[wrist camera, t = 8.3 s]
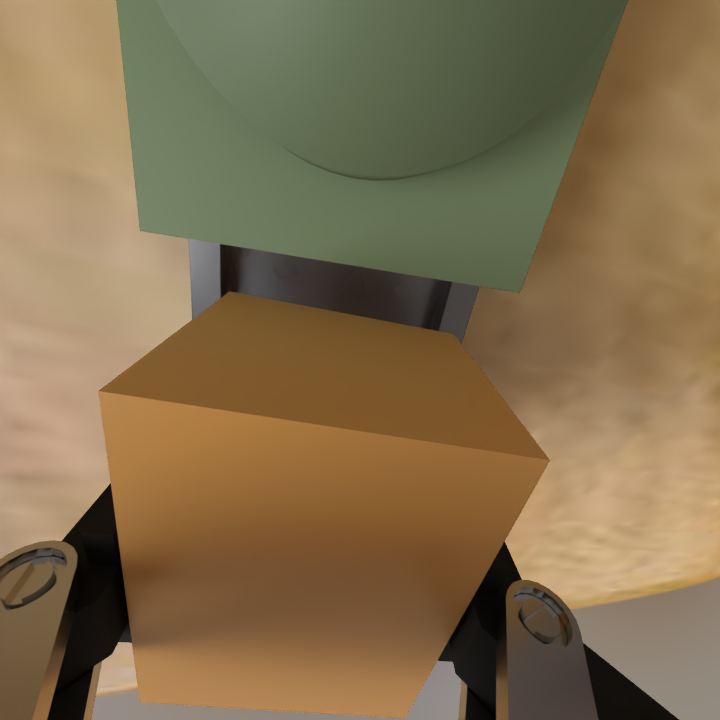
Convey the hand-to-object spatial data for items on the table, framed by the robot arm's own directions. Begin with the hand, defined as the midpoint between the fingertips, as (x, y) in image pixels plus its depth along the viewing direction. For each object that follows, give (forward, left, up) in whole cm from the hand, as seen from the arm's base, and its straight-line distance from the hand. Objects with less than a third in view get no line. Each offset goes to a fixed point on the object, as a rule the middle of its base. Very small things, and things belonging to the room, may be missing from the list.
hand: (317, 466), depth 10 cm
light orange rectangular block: (0, 0, -1) cm, 1 cm away
